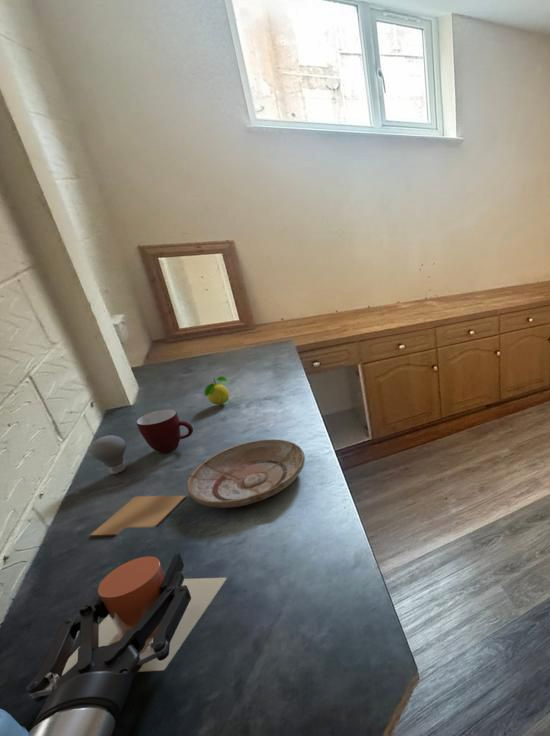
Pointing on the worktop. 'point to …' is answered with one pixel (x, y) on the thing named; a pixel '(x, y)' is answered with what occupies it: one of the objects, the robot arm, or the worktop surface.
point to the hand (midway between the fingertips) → (150, 567)
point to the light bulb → (110, 452)
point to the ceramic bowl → (246, 473)
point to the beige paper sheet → (200, 599)
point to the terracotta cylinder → (131, 591)
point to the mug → (162, 429)
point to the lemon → (217, 392)
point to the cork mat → (139, 514)
